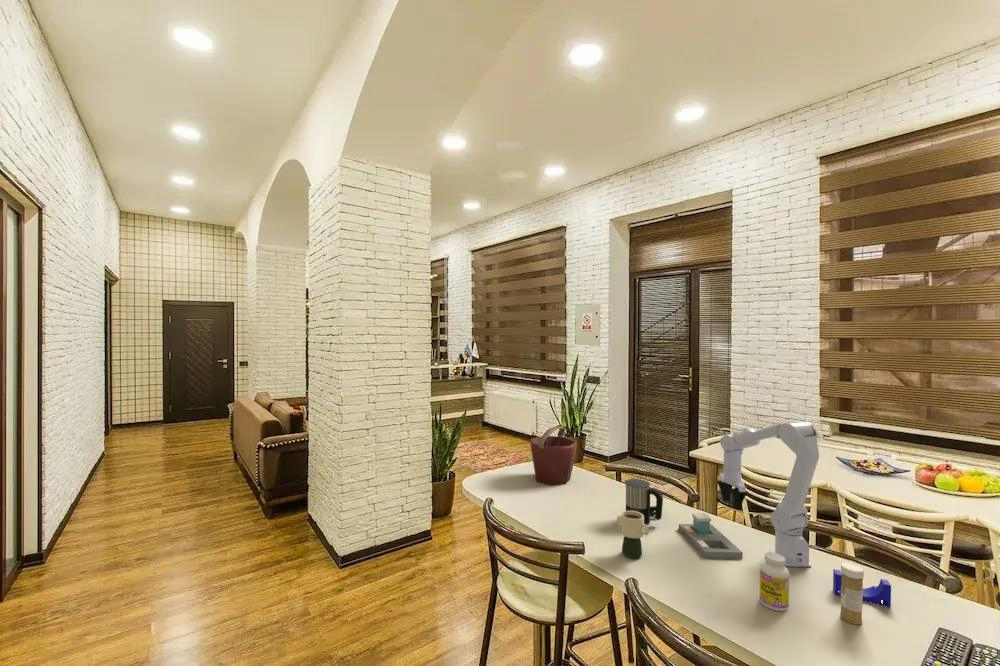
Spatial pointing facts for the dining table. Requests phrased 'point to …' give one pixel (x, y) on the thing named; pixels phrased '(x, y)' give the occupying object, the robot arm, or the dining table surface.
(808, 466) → the robot arm
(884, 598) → the cable clip
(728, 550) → the socket plate
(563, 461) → the bucket
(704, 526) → the plug
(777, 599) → the supplement bottle
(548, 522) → the dining table surface
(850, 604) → the sprinkles bottle
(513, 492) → the dining table surface
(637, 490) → the milk frother
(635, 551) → the character mug
